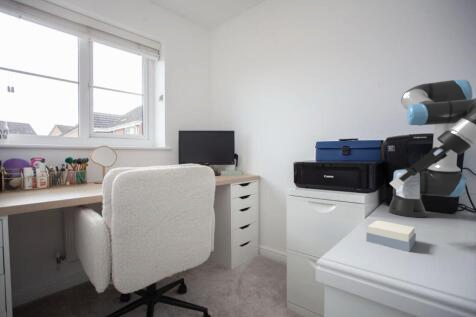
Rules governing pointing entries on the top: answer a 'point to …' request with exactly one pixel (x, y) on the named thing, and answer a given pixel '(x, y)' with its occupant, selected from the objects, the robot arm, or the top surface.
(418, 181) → the medicine box
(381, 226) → the cream grey flat block
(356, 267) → the top surface
